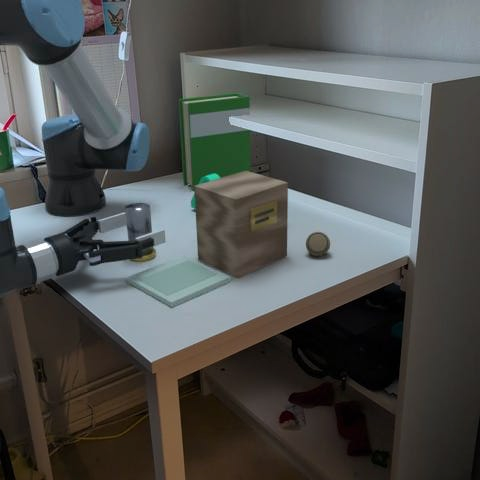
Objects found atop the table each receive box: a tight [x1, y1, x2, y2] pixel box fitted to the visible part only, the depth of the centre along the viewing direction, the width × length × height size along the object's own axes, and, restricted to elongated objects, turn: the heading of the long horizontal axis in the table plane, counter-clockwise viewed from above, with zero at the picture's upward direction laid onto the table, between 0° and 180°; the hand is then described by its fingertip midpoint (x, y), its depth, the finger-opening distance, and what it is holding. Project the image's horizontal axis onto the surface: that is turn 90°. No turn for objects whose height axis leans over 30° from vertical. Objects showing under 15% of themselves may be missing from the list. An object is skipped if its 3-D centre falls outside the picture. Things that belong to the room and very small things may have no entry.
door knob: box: [305, 231, 331, 257], centre depth 125 cm, size 5×5×5 cm
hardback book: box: [178, 92, 252, 192], centre depth 167 cm, size 18×7×24 cm, turn 117°
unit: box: [193, 171, 289, 279], centre depth 122 cm, size 13×14×16 cm
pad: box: [126, 255, 231, 308], centre depth 115 cm, size 14×14×1 cm
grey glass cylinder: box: [124, 202, 157, 263], centre depth 125 cm, size 6×6×11 cm
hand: (144, 226), depth 125 cm, fingers open, 13 cm apart
